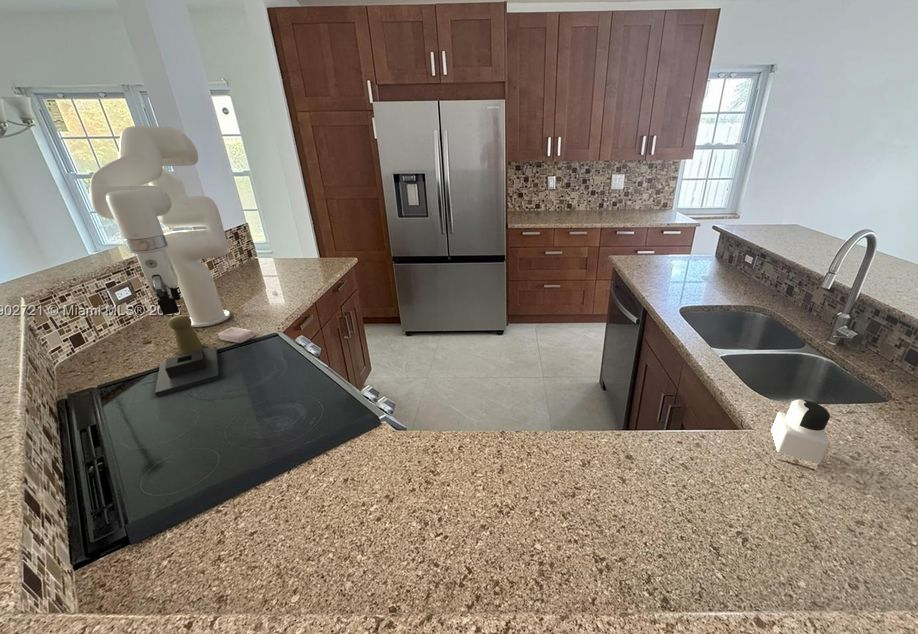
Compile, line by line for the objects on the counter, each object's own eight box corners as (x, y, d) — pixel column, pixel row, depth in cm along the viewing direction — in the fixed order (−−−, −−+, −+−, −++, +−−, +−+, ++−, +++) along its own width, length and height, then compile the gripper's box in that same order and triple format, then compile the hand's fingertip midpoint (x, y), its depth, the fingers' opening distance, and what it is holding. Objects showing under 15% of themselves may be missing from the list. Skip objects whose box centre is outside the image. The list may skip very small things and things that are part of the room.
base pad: (162, 364, 105) (158, 356, 104) (217, 351, 112) (214, 342, 111) (156, 396, 92) (152, 387, 91) (219, 378, 99) (216, 369, 98)
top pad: (170, 367, 102) (166, 358, 101) (206, 358, 106) (202, 349, 105) (169, 378, 97) (164, 368, 96) (206, 368, 102) (202, 359, 101)
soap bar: (240, 344, 116) (238, 337, 115) (219, 340, 119) (216, 333, 118) (255, 336, 121) (253, 329, 120) (234, 332, 123) (232, 326, 122)
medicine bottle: (807, 446, 78) (828, 401, 73) (817, 471, 72) (841, 423, 67) (767, 436, 81) (785, 391, 76) (773, 459, 75) (793, 412, 70)
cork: (208, 344, 116) (196, 313, 111) (191, 354, 110) (178, 322, 106) (190, 343, 116) (177, 312, 112) (173, 353, 111) (159, 320, 106)
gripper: (164, 249, 86) (189, 315, 93) (168, 234, 98) (190, 293, 106) (120, 254, 82) (150, 322, 89) (130, 237, 94) (156, 299, 102)
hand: (172, 306), depth 97 cm, fingers open, 9 cm apart
